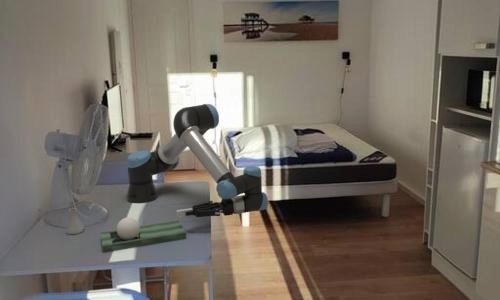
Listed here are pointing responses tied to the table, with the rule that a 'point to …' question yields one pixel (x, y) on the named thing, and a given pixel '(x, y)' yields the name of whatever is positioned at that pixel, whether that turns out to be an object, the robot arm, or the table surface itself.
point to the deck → (144, 236)
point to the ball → (128, 228)
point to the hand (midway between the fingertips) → (177, 214)
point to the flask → (74, 223)
